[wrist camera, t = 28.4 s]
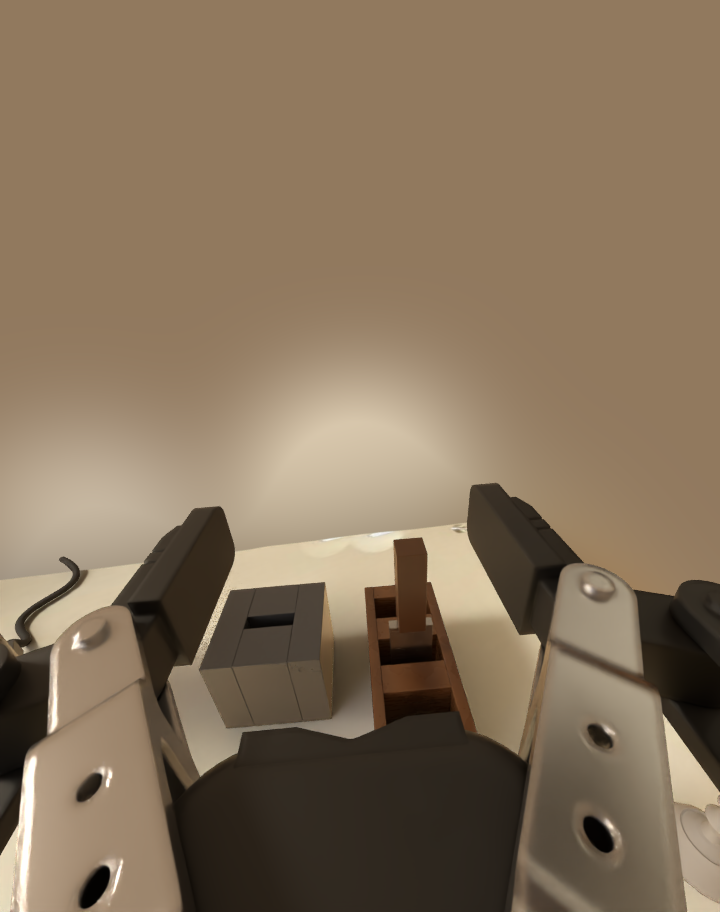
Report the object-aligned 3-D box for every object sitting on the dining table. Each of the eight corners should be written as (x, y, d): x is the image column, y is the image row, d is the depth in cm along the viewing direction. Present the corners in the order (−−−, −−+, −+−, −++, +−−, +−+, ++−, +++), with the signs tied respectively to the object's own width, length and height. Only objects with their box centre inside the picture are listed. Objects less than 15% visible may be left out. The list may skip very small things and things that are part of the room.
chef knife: (394, 709, 34) (386, 557, 25) (391, 688, 36) (383, 540, 27) (431, 706, 34) (438, 553, 25) (427, 685, 36) (431, 536, 27)
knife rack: (381, 802, 28) (376, 756, 24) (368, 631, 42) (364, 587, 39) (473, 794, 28) (481, 746, 24) (429, 626, 42) (430, 581, 39)
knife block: (226, 728, 33) (198, 670, 29) (249, 645, 42) (230, 590, 37) (331, 719, 34) (319, 659, 29) (334, 638, 42) (325, 581, 37)
